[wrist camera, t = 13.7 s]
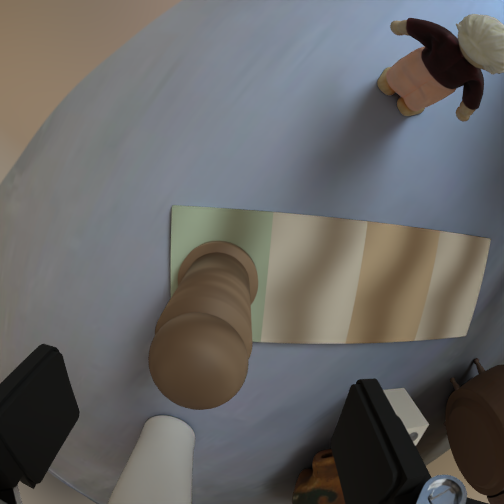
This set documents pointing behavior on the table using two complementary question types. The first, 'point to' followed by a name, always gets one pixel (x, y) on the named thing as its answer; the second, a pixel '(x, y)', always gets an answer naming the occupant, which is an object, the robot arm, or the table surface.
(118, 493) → the drinking glass
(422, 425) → the die
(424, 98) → the grandmother figurine
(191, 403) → the pawn
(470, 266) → the track board
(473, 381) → the alarm clock
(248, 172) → the table surface
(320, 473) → the decorative turtle
